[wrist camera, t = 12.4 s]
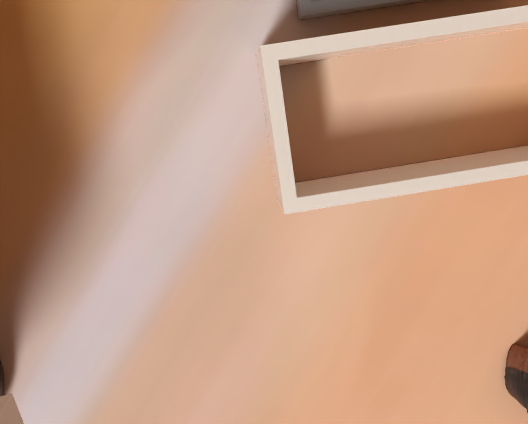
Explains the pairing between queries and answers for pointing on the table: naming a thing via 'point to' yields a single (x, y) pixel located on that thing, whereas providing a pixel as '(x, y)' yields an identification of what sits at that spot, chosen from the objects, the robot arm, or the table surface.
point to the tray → (341, 6)
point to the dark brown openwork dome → (517, 374)
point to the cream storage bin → (392, 178)
